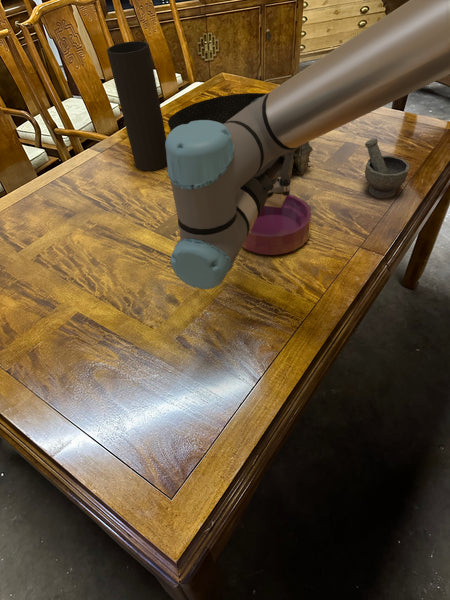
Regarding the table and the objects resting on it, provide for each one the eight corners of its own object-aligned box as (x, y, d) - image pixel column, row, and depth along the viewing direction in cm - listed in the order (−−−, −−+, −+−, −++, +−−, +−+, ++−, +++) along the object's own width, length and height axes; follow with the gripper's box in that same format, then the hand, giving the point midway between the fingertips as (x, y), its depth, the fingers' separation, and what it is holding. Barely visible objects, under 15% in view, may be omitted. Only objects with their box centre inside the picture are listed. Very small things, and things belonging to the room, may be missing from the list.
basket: (287, 212, 99) (289, 146, 88) (161, 189, 111) (149, 128, 100) (320, 157, 117) (325, 96, 105) (208, 142, 129) (202, 86, 117)
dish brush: (289, 193, 82) (292, 112, 70) (281, 208, 78) (283, 125, 67) (257, 189, 83) (255, 110, 72) (249, 204, 80) (245, 122, 69)
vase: (159, 173, 118) (134, 54, 96) (129, 169, 121) (98, 53, 100) (176, 156, 124) (156, 41, 103) (146, 153, 127) (121, 40, 106)
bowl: (322, 225, 94) (324, 204, 90) (286, 267, 85) (286, 245, 81) (259, 206, 102) (259, 185, 98) (220, 242, 93) (218, 222, 89)
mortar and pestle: (410, 189, 102) (423, 141, 93) (391, 206, 97) (403, 158, 89) (368, 175, 108) (377, 129, 99) (349, 191, 103) (356, 144, 95)
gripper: (191, 220, 68) (239, 153, 83) (284, 235, 63) (317, 161, 78) (184, 178, 62) (237, 115, 77) (286, 191, 58) (321, 121, 73)
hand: (277, 138), depth 78 cm, fingers closed on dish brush, 2 cm apart
